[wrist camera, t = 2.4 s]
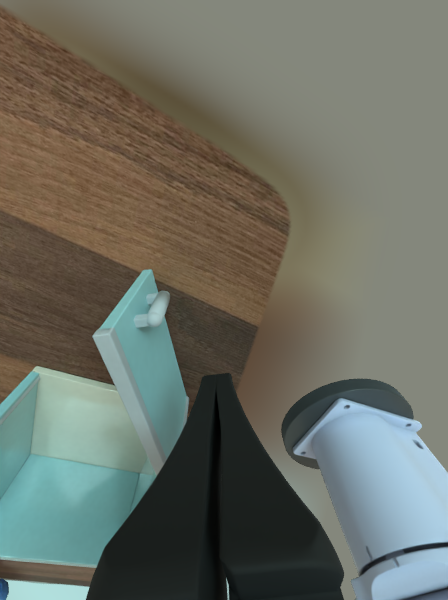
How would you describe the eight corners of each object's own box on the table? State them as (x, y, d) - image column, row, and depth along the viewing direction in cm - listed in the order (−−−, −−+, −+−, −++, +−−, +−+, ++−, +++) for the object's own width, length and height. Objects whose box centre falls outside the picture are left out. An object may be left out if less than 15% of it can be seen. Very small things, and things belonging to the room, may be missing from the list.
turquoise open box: (190, 396, 21) (179, 497, 15) (151, 472, 27) (130, 571, 20) (36, 356, 19) (-65, 457, 12) (26, 449, 24) (-46, 556, 17)
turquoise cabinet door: (201, 394, 21) (196, 490, 14) (179, 396, 21) (164, 493, 14) (171, 266, 15) (142, 329, 9) (142, 270, 15) (91, 336, 9)
